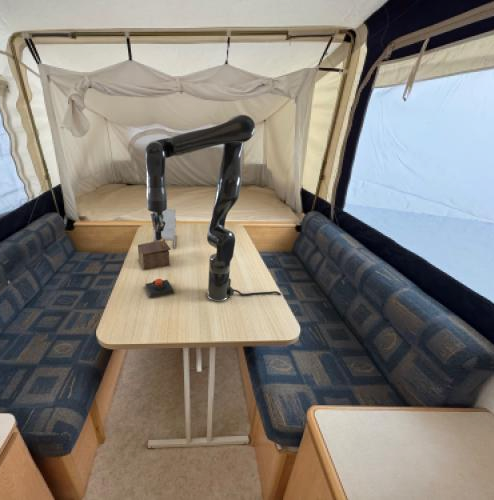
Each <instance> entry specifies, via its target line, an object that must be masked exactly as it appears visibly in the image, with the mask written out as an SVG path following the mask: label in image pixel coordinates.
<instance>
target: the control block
mask: <svg viewBox="0 0 494 500" xmlns="http://www.w3.org/2000/svg"><path fill="white" fill-rule="evenodd" d="M162 280H163V284H162V285H160V286H157V285H155V280H153V281H152V282H147V283H145V285H144V286H145V289H146V292H147V294H148V296H149V298H150V299H152V298H156V297H160V296H166V295H170V294H173V293H174V288H173V286H172V285H171V284H170V282H169V280H168V279H162Z"/></svg>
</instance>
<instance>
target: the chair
mask: <svg viewBox="0 0 494 500" xmlns="http://www.w3.org/2000/svg"><path fill="white" fill-rule="evenodd" d="M162 213H163V215H164V219H163V222H164V221H165V227H164V230H163V231H161V236H162V237H163V238H164V239H165V242H166V241H168V242H169V241H170V242H173V248H174V249H175V248H176V239H177V217H176V209H173V208H170V209H168V208H167V209H166V210H165V211H163V212H162ZM152 227H153V226H152ZM152 230H153V234H152V235H153V236H152V239H153V241H152V242H156V241H161V240H156V238H155V230H154V227H153V229H152Z"/></svg>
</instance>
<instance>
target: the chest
mask: <svg viewBox="0 0 494 500" xmlns="http://www.w3.org/2000/svg"><path fill="white" fill-rule="evenodd" d="M137 254H138V261H139V263H140V265H141V267H142V269H143V271H146V270H152V269H157V268H158V269H159V268H163V267H169V266H170V250H167V251H162V252H157V253H152V254H147V255H142V253H141V251H140V249H139V247H138V246H137Z"/></svg>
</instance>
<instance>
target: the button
mask: <svg viewBox="0 0 494 500" xmlns="http://www.w3.org/2000/svg"><path fill="white" fill-rule="evenodd" d="M163 280H164V279H162V278H156V279H155V280H154V281H155V285H157V286H160V285H162V284H163Z"/></svg>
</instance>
